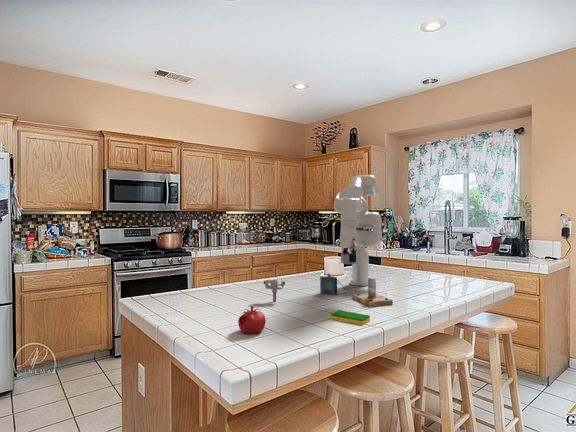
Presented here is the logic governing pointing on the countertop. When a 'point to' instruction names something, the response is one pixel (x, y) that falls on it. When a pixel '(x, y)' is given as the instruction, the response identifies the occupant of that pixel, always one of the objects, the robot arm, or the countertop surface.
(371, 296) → the shaft block
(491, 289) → the countertop surface
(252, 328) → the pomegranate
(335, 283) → the flask
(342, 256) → the grey hollow octagonal piece
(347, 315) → the dish sponge
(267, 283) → the mechanical component
